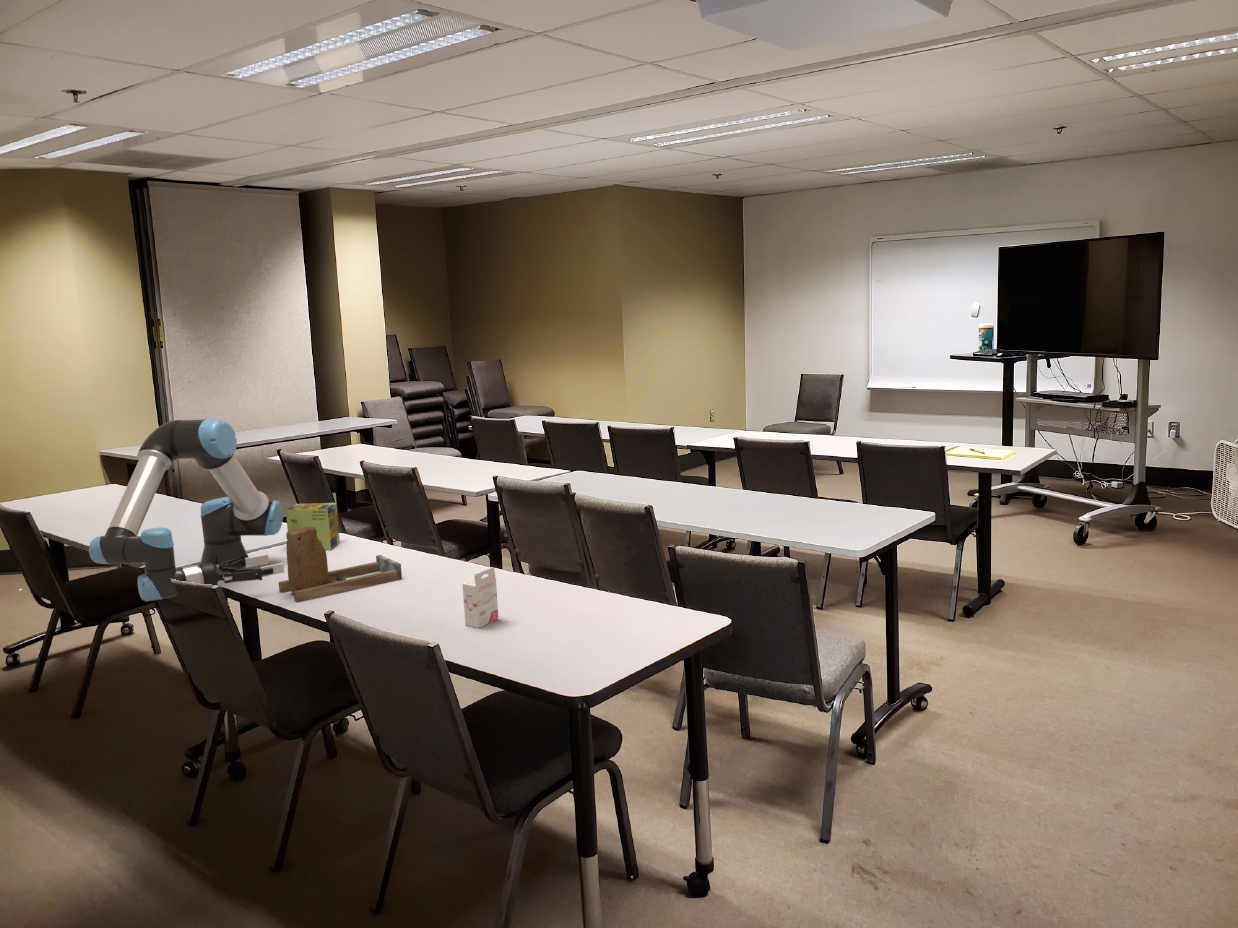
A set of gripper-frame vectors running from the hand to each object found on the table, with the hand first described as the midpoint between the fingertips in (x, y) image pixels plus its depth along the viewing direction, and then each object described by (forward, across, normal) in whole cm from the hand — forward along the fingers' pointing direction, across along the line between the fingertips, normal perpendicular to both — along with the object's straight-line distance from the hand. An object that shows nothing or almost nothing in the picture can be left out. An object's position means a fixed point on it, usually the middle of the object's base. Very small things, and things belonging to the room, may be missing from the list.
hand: (275, 563), depth 273 cm
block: (+10, 0, -11) cm, 15 cm away
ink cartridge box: (+34, +61, -11) cm, 70 cm away
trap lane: (+20, 0, -11) cm, 22 cm away
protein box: (+31, -53, -11) cm, 63 cm away
